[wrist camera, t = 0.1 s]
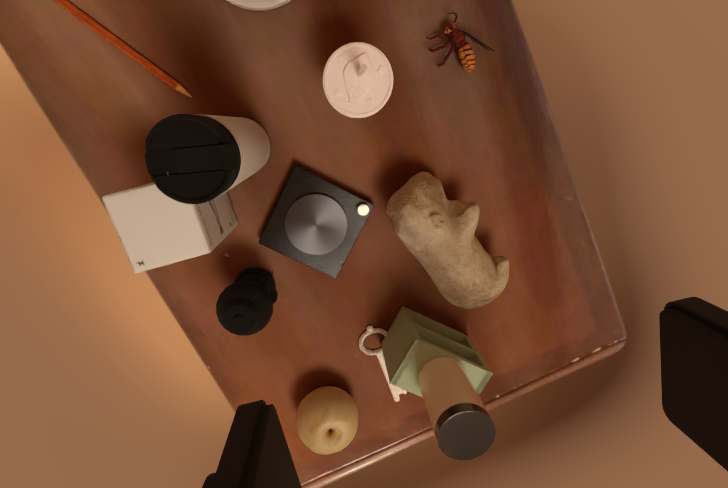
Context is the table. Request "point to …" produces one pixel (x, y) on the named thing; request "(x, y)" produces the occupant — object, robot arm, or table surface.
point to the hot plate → (316, 221)
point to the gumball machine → (247, 302)
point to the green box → (428, 350)
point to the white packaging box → (166, 226)
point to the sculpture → (447, 242)
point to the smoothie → (357, 80)
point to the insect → (464, 48)
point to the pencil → (121, 45)
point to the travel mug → (204, 155)
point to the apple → (327, 420)
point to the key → (380, 359)
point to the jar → (455, 410)
